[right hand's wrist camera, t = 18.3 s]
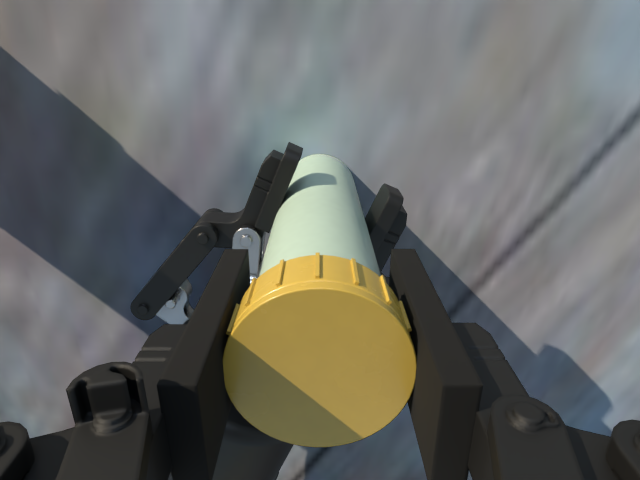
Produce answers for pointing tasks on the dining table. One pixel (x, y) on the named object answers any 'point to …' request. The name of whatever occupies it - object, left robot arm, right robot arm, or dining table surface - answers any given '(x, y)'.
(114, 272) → the dining table surface
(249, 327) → the lid
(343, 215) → the jar
